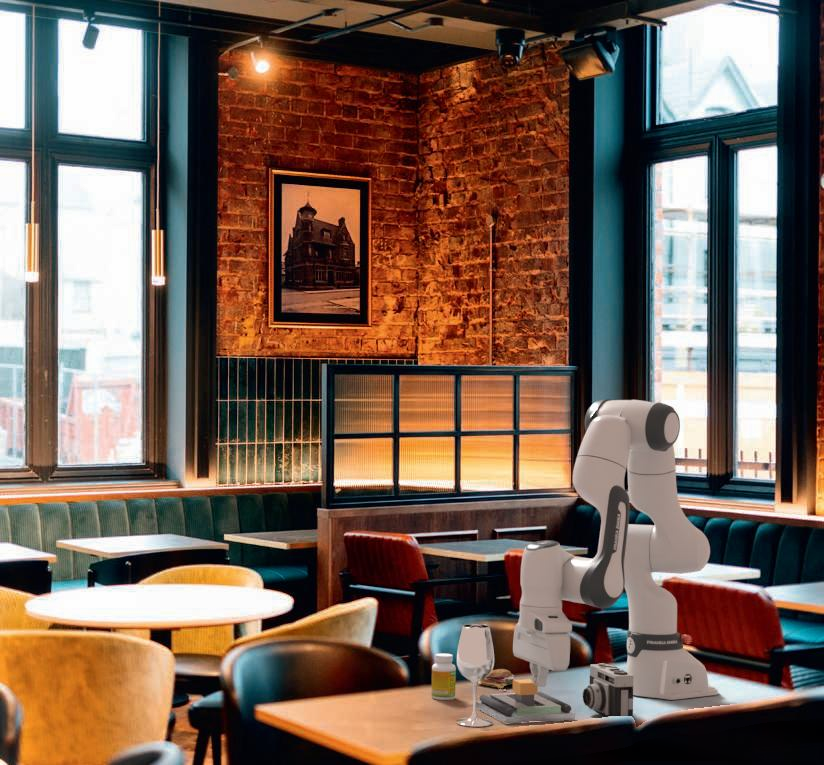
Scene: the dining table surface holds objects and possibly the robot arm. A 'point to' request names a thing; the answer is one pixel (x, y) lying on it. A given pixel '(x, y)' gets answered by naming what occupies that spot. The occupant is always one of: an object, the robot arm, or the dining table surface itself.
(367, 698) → the dining table surface
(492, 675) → the hamburger
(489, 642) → the wineglass
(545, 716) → the panel
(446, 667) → the supplement bottle
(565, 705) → the dark grey slide rails
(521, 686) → the toggle
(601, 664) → the camera
